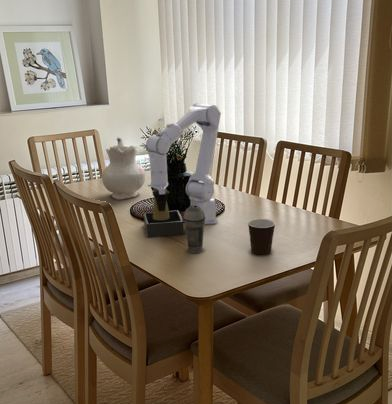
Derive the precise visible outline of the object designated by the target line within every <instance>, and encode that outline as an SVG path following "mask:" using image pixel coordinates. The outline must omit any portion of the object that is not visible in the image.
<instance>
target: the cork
mask: <svg viewBox="0 0 392 404" xmlns="http://www.w3.org/2000/svg"><path fill="white" fill-rule="evenodd" d="M155 191H158V190H157V189H155V188H154V189H153V191H152V196H153V197H154V199H153V208H152V209H153V210H152V212H153V219H154V220H167V219H169V218H170V216H169V211H170V210H169V206H168V201H166V207H165V211H159V210H158V206H157V202H156V198H155V196H154V195H153V192H155ZM167 191H168V189H167V188H166V189H165V192H167Z"/></svg>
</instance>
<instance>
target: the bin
mask: <svg viewBox="0 0 392 404" xmlns="http://www.w3.org/2000/svg"><path fill="white" fill-rule="evenodd" d="M169 216H170V218H169V219H167V220H154V219H153V211H152V212H143V225H144V230H145V234H146V237H147V238H158V237H167V236H168V237H169V236H179V235H180V236H181V235H184V234H185V230H184V229H185V228H184V226H185V224H184V219H183V217H182V216H181V213H180V211H179V210H178V209H177V210H169Z"/></svg>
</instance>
